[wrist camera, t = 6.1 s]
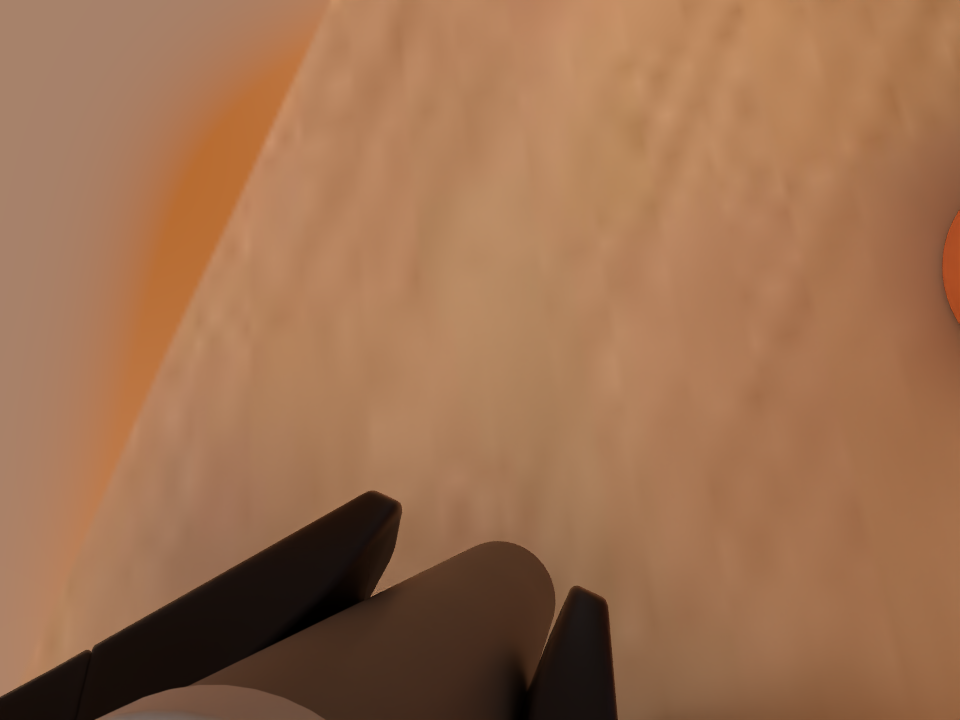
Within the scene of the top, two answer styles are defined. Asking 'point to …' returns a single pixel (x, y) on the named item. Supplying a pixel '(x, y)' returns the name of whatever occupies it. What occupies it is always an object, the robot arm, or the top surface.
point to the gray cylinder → (393, 653)
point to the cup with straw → (952, 266)
